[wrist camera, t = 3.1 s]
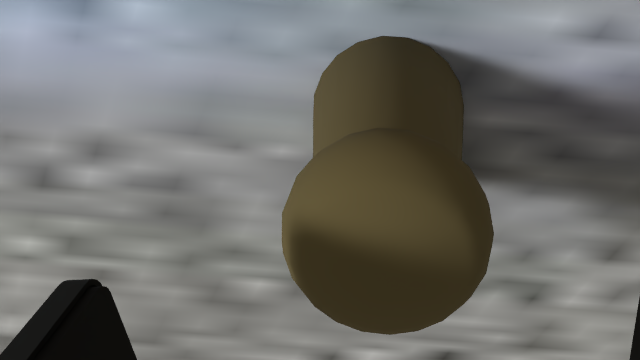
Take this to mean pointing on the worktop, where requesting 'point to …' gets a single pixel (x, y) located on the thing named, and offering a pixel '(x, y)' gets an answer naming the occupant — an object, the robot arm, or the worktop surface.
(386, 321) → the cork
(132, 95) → the worktop surface
